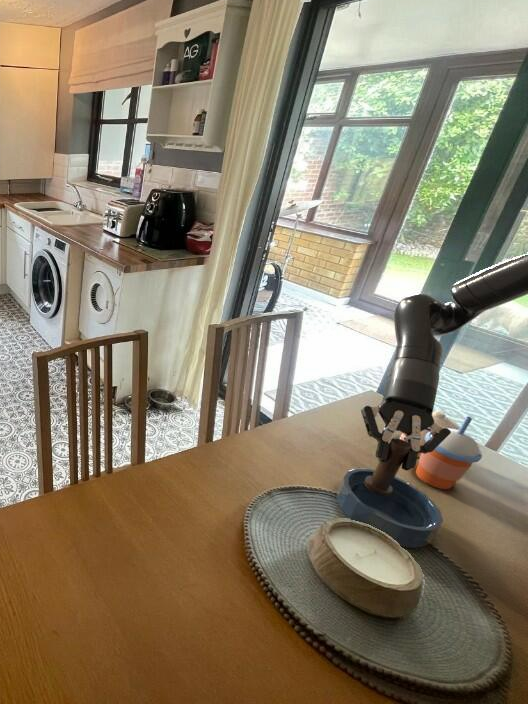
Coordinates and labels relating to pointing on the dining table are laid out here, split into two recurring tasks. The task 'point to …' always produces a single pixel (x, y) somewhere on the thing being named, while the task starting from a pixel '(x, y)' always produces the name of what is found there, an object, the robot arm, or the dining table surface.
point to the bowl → (390, 509)
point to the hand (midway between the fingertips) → (394, 464)
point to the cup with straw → (449, 458)
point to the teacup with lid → (439, 420)
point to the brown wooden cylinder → (388, 468)
